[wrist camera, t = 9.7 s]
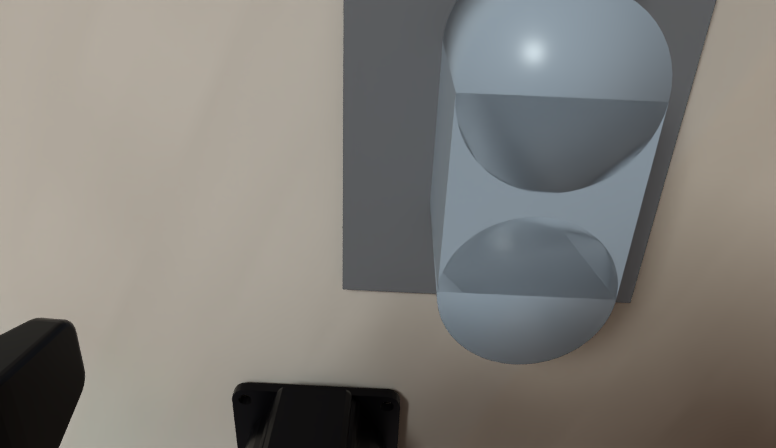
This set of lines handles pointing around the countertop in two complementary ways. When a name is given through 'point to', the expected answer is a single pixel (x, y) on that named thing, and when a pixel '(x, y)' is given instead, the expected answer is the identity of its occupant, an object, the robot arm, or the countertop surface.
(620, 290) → the mat
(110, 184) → the countertop surface
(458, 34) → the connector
